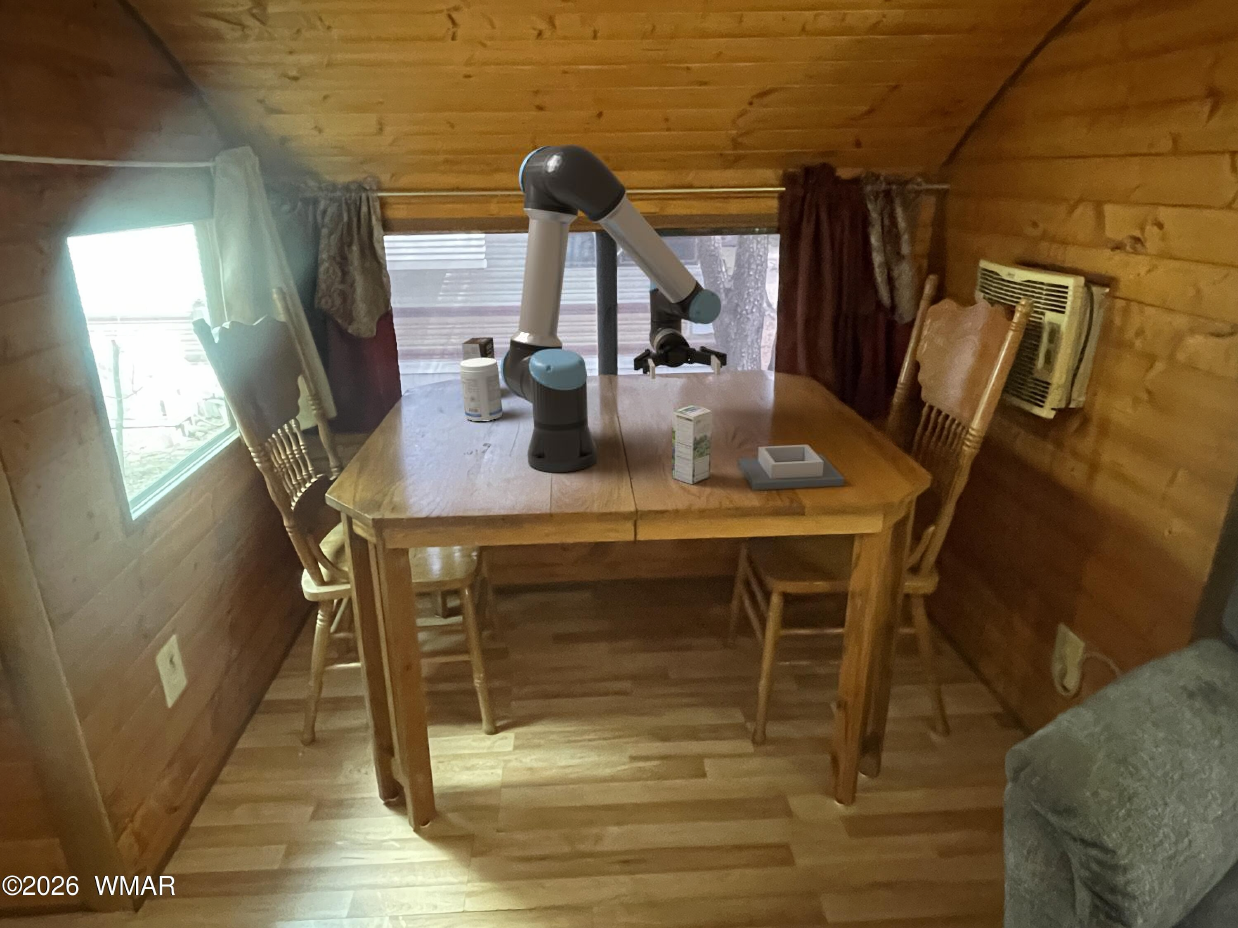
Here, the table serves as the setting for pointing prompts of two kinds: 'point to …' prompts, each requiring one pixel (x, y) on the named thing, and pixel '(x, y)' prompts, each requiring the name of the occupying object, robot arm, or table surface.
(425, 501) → the table surface
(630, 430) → the table surface
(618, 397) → the table surface
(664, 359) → the robot arm
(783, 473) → the socket board
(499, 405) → the supplement tub
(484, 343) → the coffee box
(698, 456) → the syrup box
